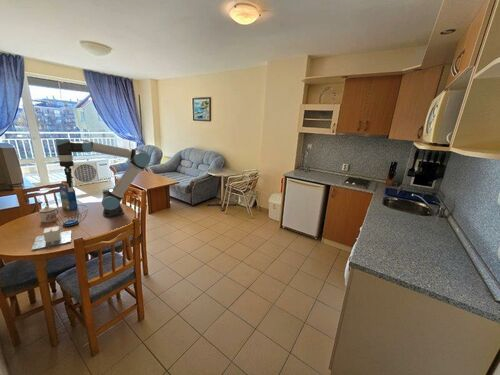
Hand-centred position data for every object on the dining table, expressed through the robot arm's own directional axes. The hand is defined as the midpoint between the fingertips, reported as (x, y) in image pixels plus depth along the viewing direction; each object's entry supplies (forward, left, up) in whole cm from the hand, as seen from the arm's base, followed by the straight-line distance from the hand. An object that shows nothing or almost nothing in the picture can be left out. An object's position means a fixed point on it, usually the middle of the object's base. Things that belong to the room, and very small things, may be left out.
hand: (71, 189), depth 153 cm
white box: (+12, +21, -28) cm, 36 cm away
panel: (+12, +21, -29) cm, 37 cm away
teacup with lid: (+16, -19, -29) cm, 38 cm away
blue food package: (+5, -40, -29) cm, 50 cm away
